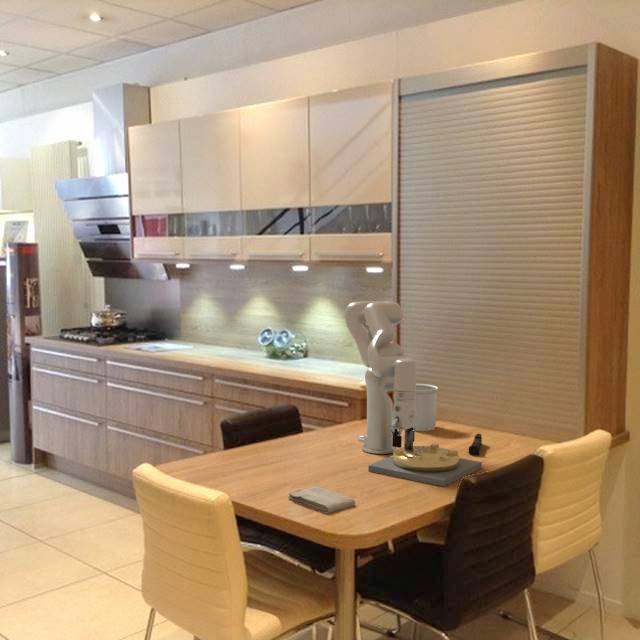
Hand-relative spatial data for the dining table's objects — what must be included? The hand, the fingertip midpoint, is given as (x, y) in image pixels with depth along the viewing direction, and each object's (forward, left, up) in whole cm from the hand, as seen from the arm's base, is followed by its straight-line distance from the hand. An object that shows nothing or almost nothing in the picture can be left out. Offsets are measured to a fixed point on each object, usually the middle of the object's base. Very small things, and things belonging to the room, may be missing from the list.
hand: (403, 444), depth 265 cm
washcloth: (+2, -50, -8) cm, 51 cm away
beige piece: (+9, 0, -5) cm, 10 cm away
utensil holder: (-24, +55, -7) cm, 61 cm away
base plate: (+9, 0, -7) cm, 12 cm away
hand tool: (+10, +36, -8) cm, 38 cm away
